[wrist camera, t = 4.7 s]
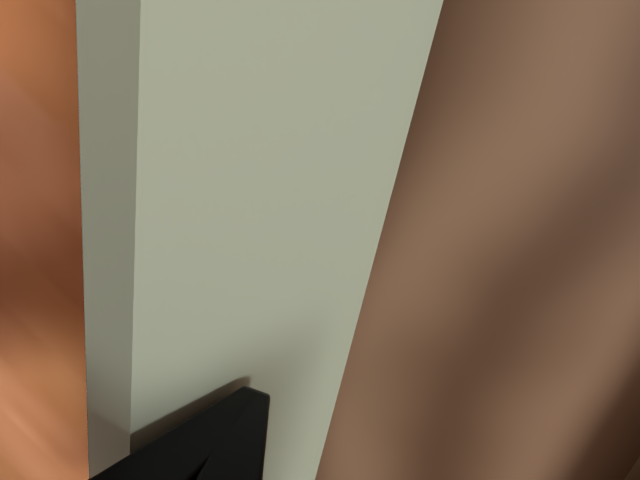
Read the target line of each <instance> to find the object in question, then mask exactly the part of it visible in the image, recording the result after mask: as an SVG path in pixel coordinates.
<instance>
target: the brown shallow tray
mask: <svg viewBox="0 0 640 480" xmlns="http://www.w3.org/2000/svg"><path fill="white" fill-rule="evenodd" d="M315 480H640V0H443V4H442V8H441V11H440V15H439V19H438V22H437V26H436V30H435V34H434V37H433V41H432V45H431V49H430V52H429V56H428V60H427V63H426V67H425V71H424V75H423V78H422V82H421V86H420V90H419V93H418V97H417V101H416V105H415V108H414V112H413V116H412V119H411V123H410V127H409V131H408V134H407V138H406V142H405V146H404V149H403V153H402V157H401V160H400V164H399V168H398V172H397V175H396V179H395V183H394V187H393V190H392V194H391V198H390V201H389V205H388V209H387V213H386V216H385V220H384V224H383V228H382V231H381V235H380V239H379V243H378V246H377V250H376V254H375V257H374V261H373V265H372V269H371V272H370V276H369V280H368V284H367V287H366V291H365V295H364V298H363V302H362V306H361V310H360V313H359V317H358V321H357V325H356V328H355V332H354V336H353V339H352V343H351V347H350V351H349V354H348V358H347V362H346V366H345V369H344V373H343V377H342V381H341V384H340V388H339V392H338V395H337V399H336V403H335V407H334V410H333V414H332V418H331V422H330V425H329V429H328V433H327V436H326V440H325V444H324V448H323V451H322V455H321V459H320V463H319V466H318V470H317V474H316V477H315Z"/></svg>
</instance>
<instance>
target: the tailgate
mask: <svg viewBox="0 0 640 480" xmlns="http://www.w3.org/2000/svg"><path fill="white" fill-rule="evenodd" d="M442 4H443V0H76V30H77V66H78V101H79V137H80V172H81V208H82V243H83V279H84V314H85V350H86V385H87V421H88V456H89V479H90V478H92V477H93V476H95V475H96V474H98V473H100V472H101V471H103V470H105V469H106V468H108V467H110V466H111V465H113V464H115V463H116V462H118V461H120V460H121V459H123V458H125V457H126V456H128V455H130V454H131V453H133V452H135V451H136V450H138V449H139V448H141V447H143V446H144V445H146V444H148V443H149V442H151V441H153V440H154V439H156V438H158V437H159V436H161V435H163V434H164V433H166V432H168V431H169V430H171V429H173V428H174V427H176V426H177V425H179V424H181V423H182V422H184V421H186V420H187V419H189V418H191V417H192V416H194V415H196V414H197V413H199V412H201V411H202V410H204V409H206V408H207V407H209V406H211V405H212V404H214V403H215V402H217V401H219V400H220V399H222V398H224V397H225V396H227V395H229V394H230V393H232V392H234V391H235V390H237V389H239V388H240V387H242V386H248V387H251V388H254V389H256V390H259V391H262V392H265V393H267V394H269V395H270V408H269V419H268V429H267V439H266V449H265V460H264V470H263V480H315V477H316V474H317V470H318V466H319V463H320V459H321V455H322V451H323V448H324V444H325V440H326V436H327V433H328V429H329V425H330V422H331V418H332V414H333V410H334V407H335V403H336V399H337V395H338V392H339V388H340V384H341V381H342V377H343V373H344V369H345V366H346V362H347V358H348V354H349V351H350V347H351V343H352V339H353V336H354V332H355V328H356V325H357V321H358V317H359V313H360V310H361V306H362V302H363V298H364V295H365V291H366V287H367V284H368V280H369V276H370V272H371V269H372V265H373V261H374V257H375V254H376V250H377V246H378V243H379V239H380V235H381V231H382V228H383V224H384V220H385V216H386V213H387V209H388V205H389V201H390V198H391V194H392V190H393V187H394V183H395V179H396V175H397V172H398V168H399V164H400V160H401V157H402V153H403V149H404V146H405V142H406V138H407V134H408V131H409V127H410V123H411V119H412V116H413V112H414V108H415V105H416V101H417V97H418V93H419V90H420V86H421V82H422V78H423V75H424V71H425V67H426V63H427V60H428V56H429V52H430V49H431V45H432V41H433V37H434V34H435V30H436V26H437V22H438V19H439V15H440V11H441V8H442Z"/></svg>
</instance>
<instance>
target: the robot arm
mask: <svg viewBox="0 0 640 480" xmlns="http://www.w3.org/2000/svg"><path fill="white" fill-rule="evenodd" d="M269 408H270V395H269V394H267V393H265V392H262V391H259V390H256V389H254V388H251V387H248V386H242V387H240V388H239V389H237V390H235V391H234V392H232V393H230V394H229V395H227V396H225V397H224V398H222V399H220V400H219V401H217V402H215V403H214V404H212V405H211V406H209V407H207V408H206V409H204V410H202V411H201V412H199V413H197V414H196V415H194V416H192V417H191V418H189V419H187V420H186V421H184V422H182V423H181V424H179V425H177V426H176V427H174V428H173V429H171V430H169V431H168V432H166V433H164V434H163V435H161V436H159V437H158V438H156V439H154V440H153V441H151V442H149V443H148V444H146V445H144V446H143V447H141V448H139V449H138V450H136V451H135V452H133V453H131V454H130V455H128V456H126V457H125V458H123V459H121V460H120V461H118V462H116V463H115V464H113V465H111V466H110V467H108V468H106V469H105V470H103V471H101V472H100V473H98V474H96V475H95V476H93V477H92V478H90V479H88V480H263V470H264V460H265V449H266V439H267V429H268V419H269Z"/></svg>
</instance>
